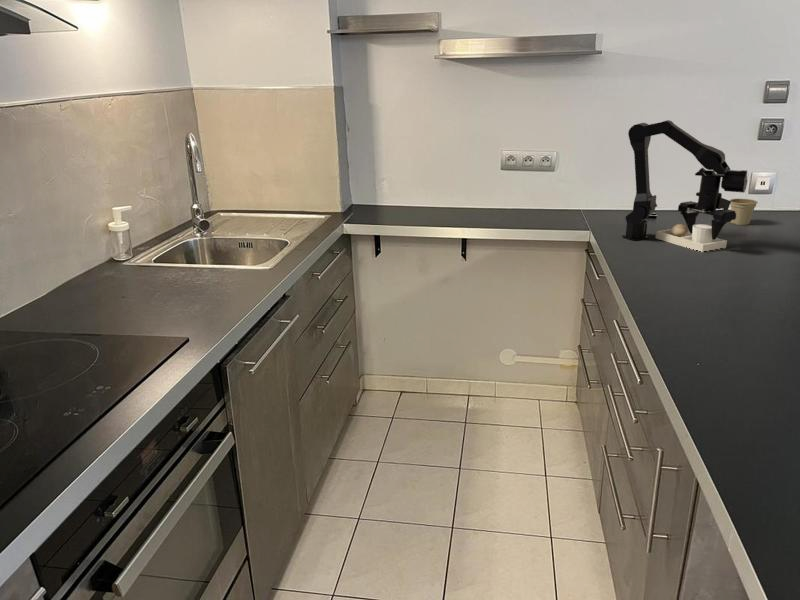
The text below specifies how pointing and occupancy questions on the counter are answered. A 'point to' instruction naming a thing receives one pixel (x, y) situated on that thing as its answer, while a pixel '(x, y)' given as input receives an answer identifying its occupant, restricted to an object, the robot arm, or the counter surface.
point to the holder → (690, 241)
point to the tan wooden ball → (679, 230)
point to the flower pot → (742, 210)
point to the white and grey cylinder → (702, 233)
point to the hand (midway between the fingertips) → (702, 236)
